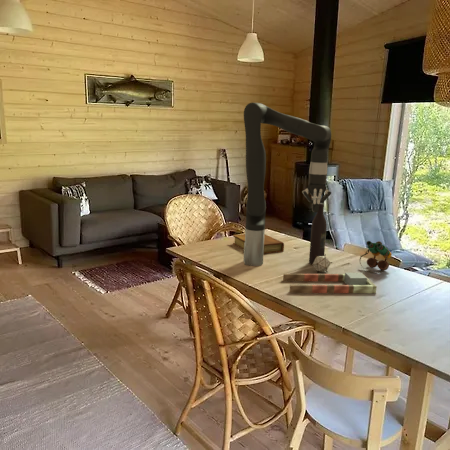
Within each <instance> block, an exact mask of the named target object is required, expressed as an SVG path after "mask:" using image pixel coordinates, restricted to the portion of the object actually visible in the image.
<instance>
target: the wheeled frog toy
mask: <svg viewBox="0 0 450 450" xmlns="http://www.w3.org/2000/svg"><path fill="white" fill-rule="evenodd" d="M366 246H367V248H368V249H367V250H366V251H365V253H364V254H362V255H360V257H359V264H360V266H361V267H362V268H363V270H364V271H367V272H369V273H373V274H379V273H383V272H384V271H387V270H388V269H389V267H390V262H389V259H390V258H392V255H393V254H392V252H391V251H390V250H389V249H388V247H386V246H385V245H384V244H383V243H382V242H381V241H380V240H379V241H376V242H372V240H367V241H366ZM369 252H370V253H371V254H372V255H373V257H368V259H366V265H367V266H368V267H370V268H371V269H373V268H378V269H379V270H380V271H370V270H367V269H366V268H365V267H363V266H362V262H361V261H362V260H361V259H362V257H364V256H367V255H368V254H369ZM379 255H381V256H382V257H383V258H384V260H383V259H381V260H379V261H378V260H377V259H376V257H378V256H379Z"/></svg>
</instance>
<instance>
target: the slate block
mask: <svg viewBox="0 0 450 450" xmlns="http://www.w3.org/2000/svg"><path fill="white" fill-rule="evenodd" d="M344 274H345V281H344V283H345V285H366V283H367V278H368V277H367V276H366V275H365V274H364V273H362V272H344ZM363 274H364V275H365V276H366V277H367V278H366V277H365V276H364V275H363Z"/></svg>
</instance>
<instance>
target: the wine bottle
mask: <svg viewBox="0 0 450 450" xmlns="http://www.w3.org/2000/svg"><path fill="white" fill-rule="evenodd" d="M324 207H325V204H324V202H323V203H320V204H319V211H317V212H316V214H315V215H314V217H313V220H312V223H311V229H310V243H309V244H310V245H309V258H308V263H309V264H310V265H311V264H313V262H314V260H315V258H316V255H317V256H324V255H325V249H326V237H327V225H328V224H327V220H326V217H325V216H324V215H325V214H324Z"/></svg>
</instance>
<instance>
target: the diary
mask: <svg viewBox="0 0 450 450" xmlns="http://www.w3.org/2000/svg"><path fill="white" fill-rule="evenodd" d="M232 235H233V237H234V242H233V243H232V245H234V246H236V247H238V248H240V249H242V250H243V251H244V243H245V233H241V234H232ZM284 251H285V243H284V242H283V241H281V240H279V239H277V238H274V237H272V236H269V235H267V234H264V254H263V255H266V254H273V253H274V254H275V253H283V252H284Z"/></svg>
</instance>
